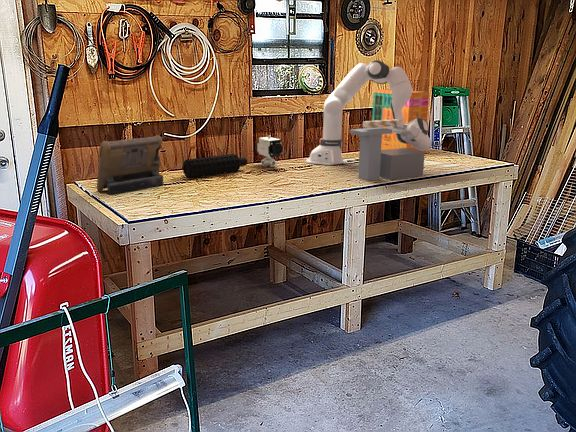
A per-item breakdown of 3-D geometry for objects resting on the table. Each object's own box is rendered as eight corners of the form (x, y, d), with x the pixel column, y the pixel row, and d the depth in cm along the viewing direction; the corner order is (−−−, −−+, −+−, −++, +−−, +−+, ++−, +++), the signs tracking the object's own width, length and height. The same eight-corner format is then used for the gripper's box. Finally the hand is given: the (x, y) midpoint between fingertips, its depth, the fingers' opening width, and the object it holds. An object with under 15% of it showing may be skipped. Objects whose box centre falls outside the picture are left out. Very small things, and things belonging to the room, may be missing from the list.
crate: (403, 170, 323) (404, 147, 319) (422, 175, 310) (424, 152, 306) (371, 174, 312) (372, 150, 308) (390, 179, 299) (391, 155, 295)
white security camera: (254, 164, 336) (254, 134, 331) (266, 162, 341) (266, 133, 336) (270, 169, 322) (270, 138, 317) (283, 167, 327) (283, 137, 322)
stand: (377, 175, 310) (380, 127, 303) (389, 178, 302) (392, 129, 295) (347, 178, 301) (349, 129, 293) (359, 182, 292) (361, 131, 285)
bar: (395, 124, 304) (395, 119, 303) (400, 125, 301) (400, 119, 300) (362, 127, 293) (363, 121, 293) (367, 128, 290) (367, 122, 289)
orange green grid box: (370, 147, 399) (373, 89, 388) (389, 145, 409) (392, 89, 398) (405, 154, 372) (409, 92, 361) (424, 152, 382) (429, 91, 371)
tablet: (150, 180, 292) (147, 132, 285) (168, 184, 283) (165, 134, 277) (94, 192, 267) (90, 139, 260) (112, 197, 259) (107, 142, 252)
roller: (240, 165, 326) (242, 149, 321) (249, 173, 319) (252, 157, 314) (180, 173, 303) (182, 156, 298) (189, 182, 297) (191, 165, 292)
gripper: (398, 126, 316) (382, 114, 309) (424, 130, 299) (408, 118, 292) (393, 136, 316) (377, 125, 309) (419, 141, 299) (402, 129, 292)
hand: (392, 121), depth 300 cm, fingers closed on bar, 4 cm apart
